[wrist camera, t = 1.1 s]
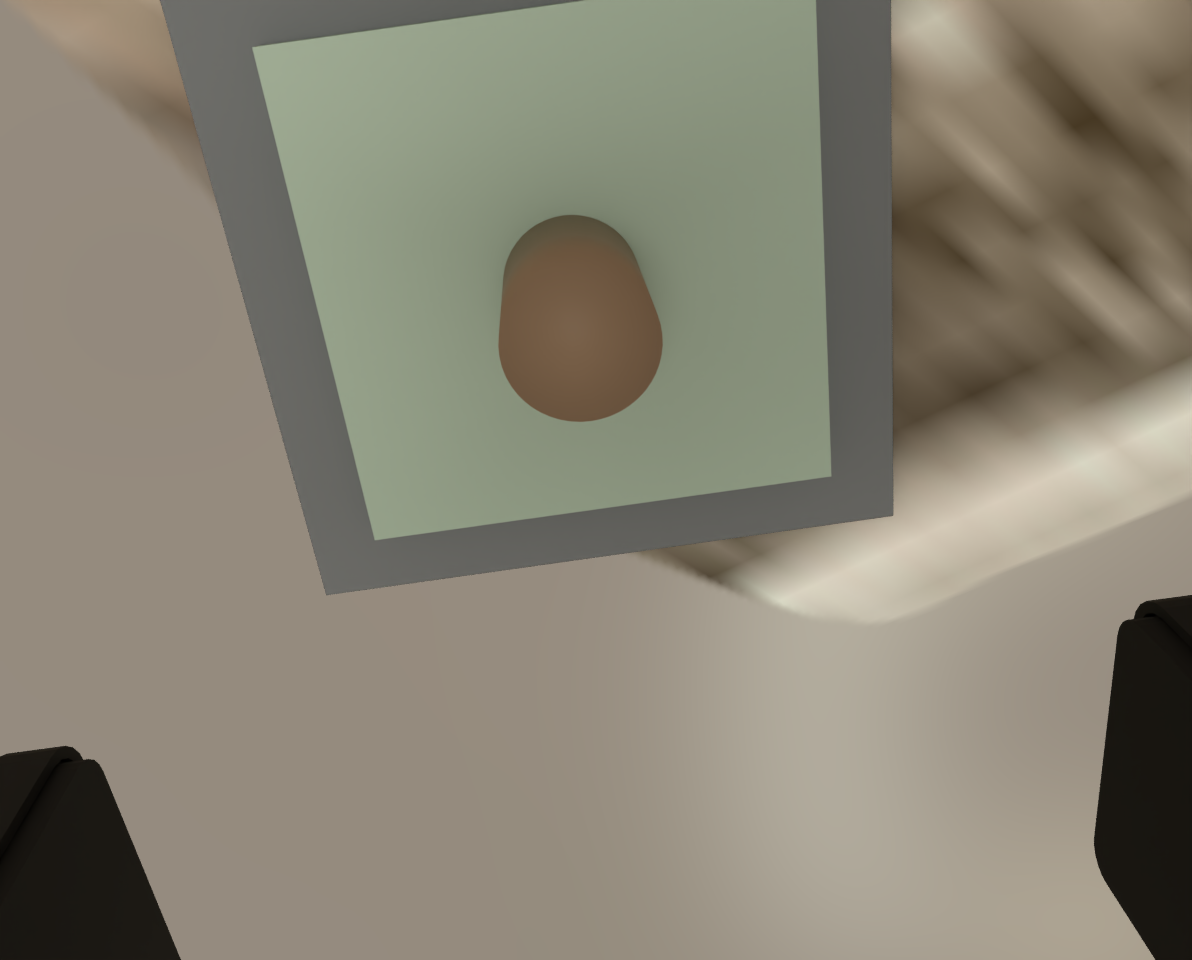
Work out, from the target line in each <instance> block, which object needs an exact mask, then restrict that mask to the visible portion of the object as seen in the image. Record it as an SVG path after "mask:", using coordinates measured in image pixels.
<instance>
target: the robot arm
mask: <svg viewBox="0 0 1192 960" xmlns="http://www.w3.org/2000/svg"><path fill="white" fill-rule="evenodd" d="M1094 847H1095V854H1096V858H1097V862H1098V866H1099V869H1100V871H1101V874H1102V876H1103V878H1104V880H1105V882H1106V883H1107V885H1108V887H1109V888H1110V890H1111V891H1112V893H1113V894H1114V896H1115V897H1116V899H1117V901H1118V902H1119V904H1120V905H1121V907H1122V908H1123V910H1124V911H1125V913H1126V914H1127V916H1128V917H1129V919H1130V921H1131V922H1132V924H1133V925H1134V927H1135V929H1136V930H1137V931H1138V933H1139V935H1140V936H1141V938H1142V940H1143V941H1144V942H1145V944H1146V946H1147V947H1148V949H1149V950H1150V952H1151V954H1152V955H1153V957H1154V958H1155V960H1192V595H1188V596H1181V597H1173V598H1166V599H1158V600H1151V601H1146V602H1144V603H1142V604H1140V606H1139V607H1138V609H1137V610H1136V612H1135V616H1134V619H1132V620H1126V621H1124V622H1123V623H1122V624H1121V626H1120V628H1119V631H1118V635H1117V644H1116V653H1115V661H1114V671H1113V679H1112V687H1111V696H1110V706H1109V714H1108V722H1107V731H1106V740H1105V749H1104V757H1103V766H1102V774H1101V783H1100V792H1099V800H1098V809H1097V818H1096V827H1095V836H1094ZM0 960H181V959H180V957H179V954H178V952H177V949H176V947H175V945H174V942H173V940H172V937H171V935H170V932H169V930H168V927H167V925H166V923H165V921H164V918H163V916H162V913H161V911H160V908H159V906H158V903H157V901H156V899H155V896H154V894H153V891H152V889H151V886H150V884H149V882H148V879H147V876H146V874H145V872H144V869H143V867H142V864H141V862H140V859H139V857H138V855H137V852H136V850H135V847H134V845H133V842H132V840H131V838H130V835H129V833H128V831H127V828H126V826H125V823H124V821H123V818H122V816H121V813H120V811H119V808H118V806H117V804H116V801H115V799H114V796H113V794H112V791H111V789H110V787H109V784H108V782H107V779H106V777H105V775H104V772H103V770H102V768H101V767H100V765H99V764H98V763H97V762H96V761H95V760H91V759H86V760H83V759H82V757H81V755H80V753H79V752H77V751H76V750H75V749H74V748H73V747H68V746H61V747H54V748H47V749H39V750H32V751H24V752H17V753H9V754H5V755H3V756H0Z"/></svg>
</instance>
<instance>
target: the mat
mask: <svg viewBox="0 0 1192 960" xmlns="http://www.w3.org/2000/svg"><path fill="white" fill-rule="evenodd" d="M160 1H161V5H162V9H163V12H164V16H165V19H166V23H167V27H168V30H169V34H170V37H171V41H172V44H173V48H174V52H175V55H176V59H177V62H178V66H179V69H180V73H181V77H182V80H183V84H184V87H185V91H186V95H187V98H188V102H189V105H190V109H191V112H192V116H193V120H194V123H195V127H196V130H197V134H198V138H199V141H200V145H201V148H202V152H203V155H204V159H205V163H206V166H207V170H208V173H209V177H210V181H211V184H212V188H213V191H214V195H215V198H216V202H217V206H218V209H219V213H220V216H221V220H222V224H223V227H224V231H225V234H226V238H227V241H228V245H229V248H230V252H231V256H232V259H233V263H234V266H235V270H236V274H237V277H238V281H239V284H240V288H241V292H242V295H243V299H244V302H245V305H246V309H247V313H248V316H249V320H250V324H251V327H252V331H253V335H254V338H255V342H256V345H257V349H258V352H259V356H260V360H261V363H262V366H263V370H264V374H265V378H266V381H267V384H268V388H269V392H270V395H271V399H272V402H273V406H274V410H275V413H276V417H277V421H278V424H279V428H280V431H281V434H282V438H283V442H284V445H285V449H286V453H287V456H288V460H289V463H290V467H291V471H292V474H293V478H294V481H295V485H296V489H297V492H298V496H299V499H300V503H301V506H302V510H303V514H304V517H305V521H306V524H307V528H308V532H309V535H310V539H311V542H312V546H313V549H314V553H315V556H316V560H317V564H318V567H319V571H320V575H321V578H322V582H323V585H324V589H325V592H326V595H331V594H338V593H345V592H352V591H360V590H367V589H374V588H381V587H388V586H395V585H402V584H409V583H417V582H424V581H430V580H438V579H445V578H452V577H460V576H467V575H474V574H481V573H487V572H495V571H502V570H509V569H517V568H524V567H531V566H538V565H545V564H552V563H559V562H567V561H573V560H581V559H588V558H595V557H602V556H609V555H617V554H624V553H631V552H638V551H645V550H652V549H660V548H667V547H674V546H681V545H688V544H695V543H702V542H710V541H717V540H724V539H731V538H738V537H745V536H752V535H759V534H767V533H774V532H781V531H788V530H795V529H802V528H809V527H817V526H824V525H831V524H838V523H845V522H852V521H859V520H867V519H874V518H881V517H888V516H893V368H892V147H891V0H816V19H817V50H818V80H819V111H820V141H821V172H822V202H823V233H824V264H825V294H826V325H827V355H828V386H829V416H830V447H831V477H823V478H816V479H809V480H802V481H795V482H788V483H781V484H773V485H766V486H759V487H752V488H745V489H738V490H731V491H723V492H716V493H709V494H702V495H695V496H688V497H681V498H673V499H666V500H659V501H652V502H645V503H638V504H631V505H624V506H616V507H609V508H602V509H595V510H588V511H581V512H574V513H566V514H559V515H552V516H545V517H538V518H531V519H524V520H516V521H509V522H502V523H495V524H488V525H481V526H474V527H466V528H459V529H452V530H445V531H438V532H431V533H424V534H417V535H409V536H402V537H395V538H388V539H381V540H375V539H374V535H373V531H372V527H371V523H370V519H369V515H368V511H367V507H366V503H365V499H364V495H363V491H362V487H361V483H360V479H359V475H358V471H357V467H356V463H355V459H354V454H353V450H352V446H351V442H350V438H349V434H348V430H347V426H346V422H345V418H344V414H343V410H342V406H341V402H340V398H339V394H338V390H337V386H336V382H335V378H334V374H333V370H332V366H331V362H330V358H329V354H328V350H327V346H326V342H325V338H324V334H323V330H322V326H321V322H320V318H319V314H318V310H317V306H316V302H315V298H314V294H313V290H312V286H311V282H310V278H309V274H308V270H307V266H306V262H305V258H304V254H303V250H302V246H301V242H300V238H299V234H298V230H297V226H296V222H295V218H294V214H293V210H292V206H291V202H290V197H289V193H288V189H287V185H286V181H285V177H284V173H283V169H282V165H281V161H280V157H279V153H278V149H277V145H276V141H275V137H274V133H273V129H272V125H271V121H270V117H269V113H268V109H267V105H266V101H265V97H264V93H263V89H262V85H261V81H260V77H259V73H258V69H257V65H256V61H255V57H254V53H253V49H252V47H255V46H259V45H265V44H272V43H279V42H287V41H294V40H301V39H308V38H315V37H322V36H329V35H336V34H343V33H350V32H358V31H365V30H372V29H379V28H386V27H393V26H400V25H407V24H414V23H422V22H429V21H436V20H443V19H450V18H457V17H464V16H471V15H478V14H486V13H493V12H500V11H507V10H514V9H521V8H528V7H535V6H542V5H549V4H557V3H564V2H571V1H578V0H160Z"/></svg>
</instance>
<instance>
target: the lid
mask: <svg viewBox="0 0 1192 960" xmlns="http://www.w3.org/2000/svg"><path fill="white" fill-rule="evenodd" d="M252 49H253V53H254V57H255V61H256V65H257V69H258V73H259V77H260V81H261V85H262V89H263V93H264V97H265V101H266V105H267V109H268V113H269V117H270V121H271V125H272V129H273V133H274V137H275V141H276V145H277V149H278V153H279V157H280V161H281V165H282V169H283V173H284V177H285V181H286V185H287V189H288V193H289V197H290V202H291V206H292V210H293V214H294V218H295V222H296V226H297V230H298V234H299V238H300V242H301V246H302V250H303V254H304V258H305V262H306V266H307V270H308V274H309V278H310V282H311V286H312V290H313V294H314V298H315V302H316V306H317V310H318V314H319V318H320V322H321V326H322V330H323V334H324V338H325V342H326V346H327V350H328V354H329V358H330V362H331V366H332V370H333V374H334V378H335V382H336V386H337V390H338V394H339V398H340V402H341V406H342V410H343V414H344V418H345V422H346V426H347V430H348V434H349V438H350V442H351V446H352V450H353V454H354V459H355V463H356V467H357V471H358V475H359V479H360V483H361V487H362V491H363V495H364V499H365V503H366V507H367V511H368V515H369V519H370V523H371V527H372V531H373V535H374V539H375V540H381V539H388V538H395V537H402V536H409V535H417V534H424V533H431V532H438V531H445V530H452V529H459V528H466V527H474V526H481V525H488V524H495V523H502V522H509V521H516V520H524V519H531V518H538V517H545V516H552V515H559V514H566V513H574V512H581V511H588V510H595V509H602V508H609V507H616V506H624V505H631V504H638V503H645V502H652V501H659V500H666V499H673V498H681V497H688V496H695V495H702V494H709V493H716V492H723V491H731V490H738V489H745V488H752V487H759V486H766V485H773V484H781V483H788V482H795V481H802V480H809V479H816V478H823V477H831V447H830V416H829V386H828V355H827V325H826V294H825V264H824V233H823V202H822V172H821V141H820V111H819V80H818V50H817V19H816V0H578V1H571V2H564V3H557V4H549V5H542V6H535V7H528V8H521V9H514V10H507V11H500V12H493V13H486V14H478V15H471V16H464V17H457V18H450V19H443V20H436V21H429V22H422V23H414V24H407V25H400V26H393V27H386V28H379V29H372V30H365V31H358V32H350V33H343V34H336V35H329V36H322V37H315V38H308V39H301V40H294V41H287V42H279V43H272V44H265V45H259V46H255V47H252Z"/></svg>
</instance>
